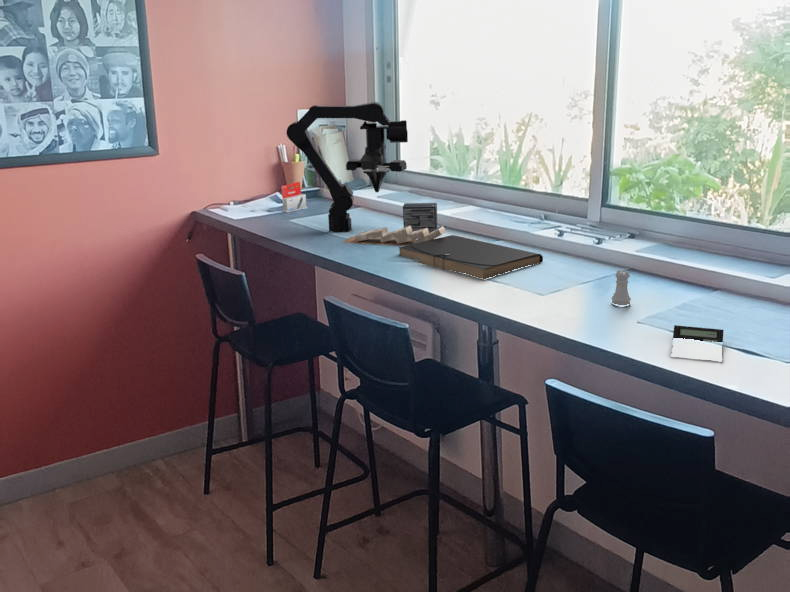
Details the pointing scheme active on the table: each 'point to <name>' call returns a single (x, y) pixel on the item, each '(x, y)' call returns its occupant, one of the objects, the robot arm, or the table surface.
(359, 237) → the domino
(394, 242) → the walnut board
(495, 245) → the book
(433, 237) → the domino
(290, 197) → the ink cartridge box
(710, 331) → the calculator
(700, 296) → the table surface
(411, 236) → the domino
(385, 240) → the domino
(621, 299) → the rook chess piece
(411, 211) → the small box
